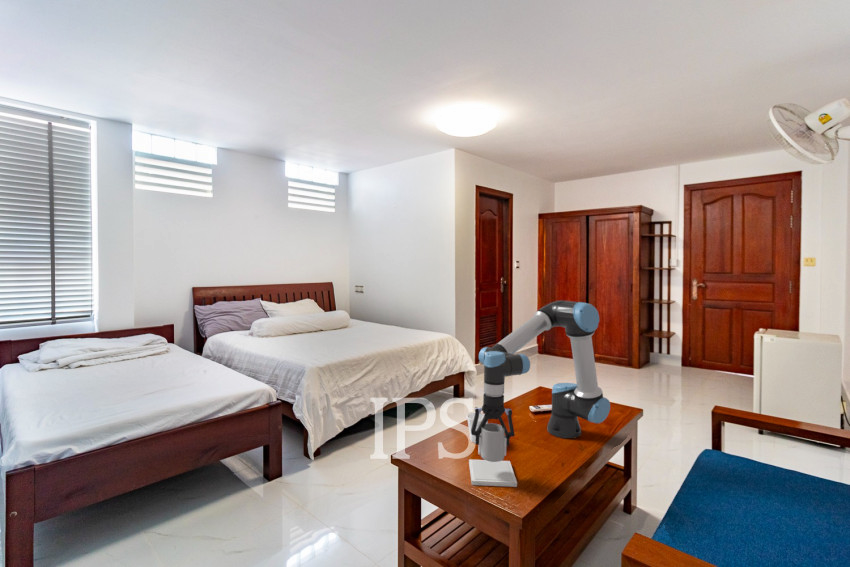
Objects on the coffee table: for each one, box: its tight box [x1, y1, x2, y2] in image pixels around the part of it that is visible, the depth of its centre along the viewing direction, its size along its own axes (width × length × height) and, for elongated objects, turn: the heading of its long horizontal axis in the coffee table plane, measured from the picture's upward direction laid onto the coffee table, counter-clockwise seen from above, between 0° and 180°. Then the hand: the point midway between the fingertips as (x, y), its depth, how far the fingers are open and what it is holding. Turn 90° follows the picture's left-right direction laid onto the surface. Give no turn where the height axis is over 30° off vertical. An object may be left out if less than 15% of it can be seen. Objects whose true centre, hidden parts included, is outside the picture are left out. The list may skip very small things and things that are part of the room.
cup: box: [466, 412, 489, 444], centre depth 181 cm, size 10×10×11 cm
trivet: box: [468, 459, 518, 488], centre depth 153 cm, size 16×16×2 cm
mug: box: [480, 422, 505, 462], centre depth 152 cm, size 12×8×11 cm
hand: (491, 453), depth 152 cm, fingers closed on mug, 9 cm apart
